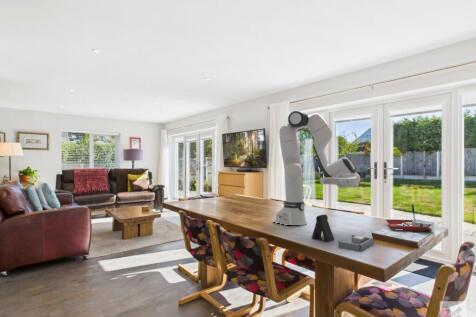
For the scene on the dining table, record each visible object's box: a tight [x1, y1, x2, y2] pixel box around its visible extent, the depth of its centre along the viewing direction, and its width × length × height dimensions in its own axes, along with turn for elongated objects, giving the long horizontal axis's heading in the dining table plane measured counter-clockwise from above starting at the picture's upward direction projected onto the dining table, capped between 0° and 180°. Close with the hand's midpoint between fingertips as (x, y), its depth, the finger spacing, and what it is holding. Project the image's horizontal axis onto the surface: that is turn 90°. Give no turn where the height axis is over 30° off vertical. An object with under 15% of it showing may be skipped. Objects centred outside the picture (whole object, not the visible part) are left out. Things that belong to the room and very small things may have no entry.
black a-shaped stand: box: [311, 213, 335, 243], centre depth 137 cm, size 9×6×12 cm, turn 43°
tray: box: [337, 234, 375, 252], centre depth 125 cm, size 10×15×2 cm
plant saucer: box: [385, 219, 430, 232], centre depth 155 cm, size 18×18×3 cm
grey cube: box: [351, 235, 366, 245], centre depth 124 cm, size 4×4×4 cm
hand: (331, 181), depth 146 cm, fingers open, 8 cm apart
